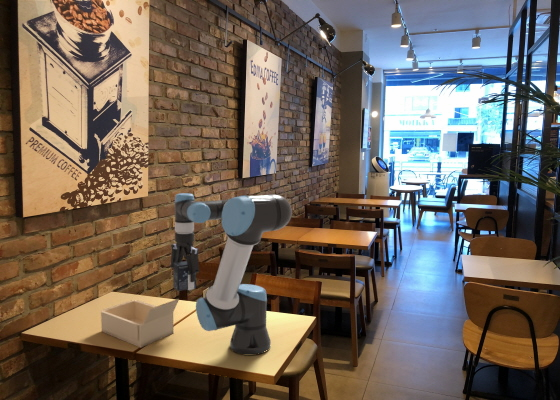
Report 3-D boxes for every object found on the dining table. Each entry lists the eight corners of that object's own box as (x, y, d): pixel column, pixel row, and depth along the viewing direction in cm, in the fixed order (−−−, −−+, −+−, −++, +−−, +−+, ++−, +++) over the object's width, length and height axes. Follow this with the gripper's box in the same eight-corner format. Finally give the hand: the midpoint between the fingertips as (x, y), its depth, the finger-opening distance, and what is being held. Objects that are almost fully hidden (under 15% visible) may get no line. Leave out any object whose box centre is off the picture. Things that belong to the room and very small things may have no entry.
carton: (174, 332, 178) (174, 311, 177) (139, 348, 164) (138, 325, 163) (135, 318, 191) (134, 299, 190) (99, 331, 177) (98, 310, 176)
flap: (173, 312, 175) (179, 299, 172) (144, 323, 163) (150, 310, 161) (172, 311, 175) (178, 298, 172) (143, 322, 163) (149, 309, 161)
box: (178, 291, 176) (178, 265, 175) (173, 287, 181) (172, 262, 179) (196, 288, 180) (196, 263, 179) (191, 284, 185) (191, 260, 184)
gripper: (209, 234, 175) (208, 290, 178) (175, 227, 186) (175, 280, 189) (194, 237, 169) (194, 295, 172) (160, 229, 180) (161, 284, 183)
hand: (184, 287), depth 180 cm, fingers closed on box, 7 cm apart
